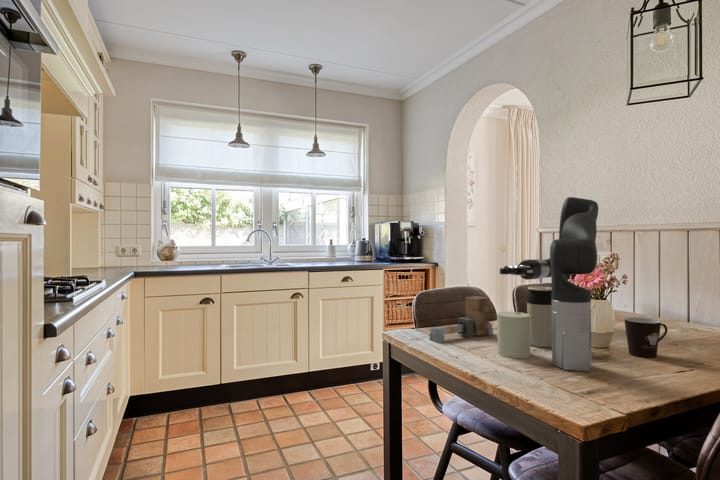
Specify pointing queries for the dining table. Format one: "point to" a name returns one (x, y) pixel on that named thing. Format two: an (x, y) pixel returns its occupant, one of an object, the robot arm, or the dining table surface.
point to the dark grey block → (468, 326)
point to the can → (513, 334)
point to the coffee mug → (643, 336)
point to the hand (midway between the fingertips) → (501, 271)
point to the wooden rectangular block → (478, 313)
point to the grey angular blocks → (440, 335)
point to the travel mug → (540, 316)
